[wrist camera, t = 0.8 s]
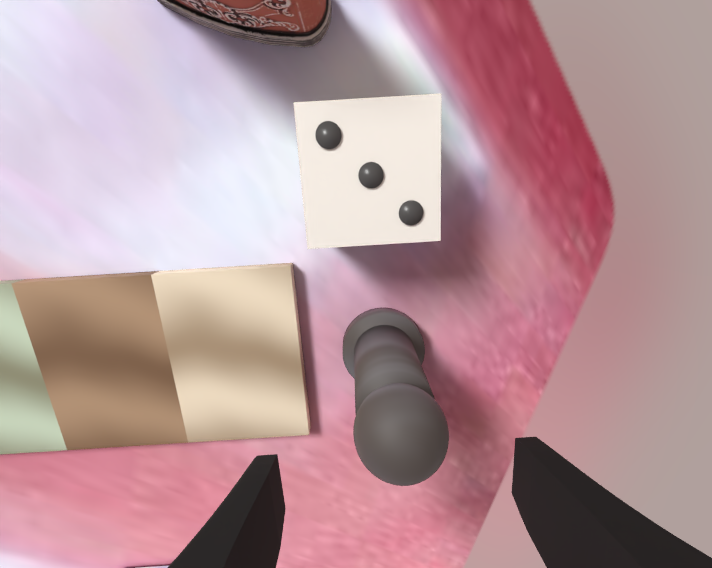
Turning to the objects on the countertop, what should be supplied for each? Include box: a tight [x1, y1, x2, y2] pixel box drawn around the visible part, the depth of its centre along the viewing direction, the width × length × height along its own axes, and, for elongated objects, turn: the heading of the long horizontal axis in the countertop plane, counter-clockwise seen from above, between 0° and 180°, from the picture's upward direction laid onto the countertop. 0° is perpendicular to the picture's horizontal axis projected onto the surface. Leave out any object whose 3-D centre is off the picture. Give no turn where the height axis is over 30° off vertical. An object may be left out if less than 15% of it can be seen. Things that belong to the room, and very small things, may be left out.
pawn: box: [343, 308, 449, 486], centre depth 15 cm, size 4×4×9 cm
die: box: [293, 93, 441, 249], centre depth 15 cm, size 5×5×5 cm
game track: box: [0, 263, 311, 454], centre depth 19 cm, size 10×21×1 cm, turn 93°
